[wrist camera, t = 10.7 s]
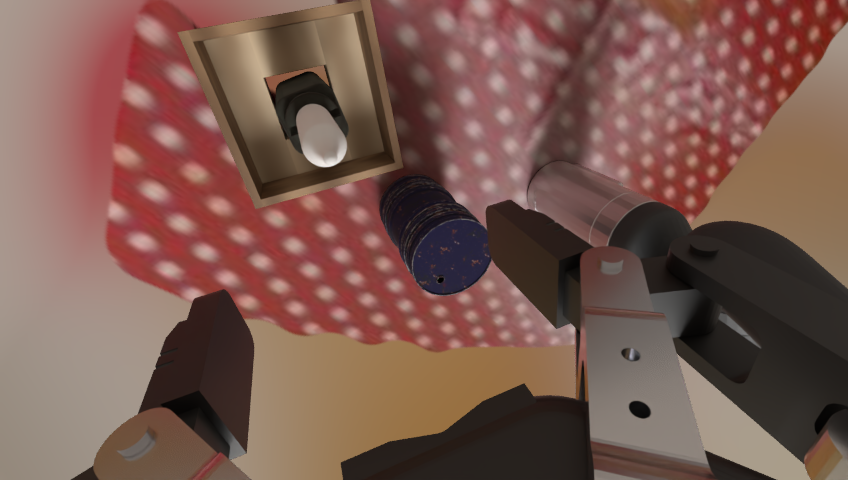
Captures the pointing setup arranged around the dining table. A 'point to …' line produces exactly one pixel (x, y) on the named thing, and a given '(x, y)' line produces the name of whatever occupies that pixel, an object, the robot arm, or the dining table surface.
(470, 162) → the dining table surface
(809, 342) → the robot arm
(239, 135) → the peg box
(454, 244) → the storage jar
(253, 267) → the dining table surface
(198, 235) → the dining table surface
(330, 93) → the candle
